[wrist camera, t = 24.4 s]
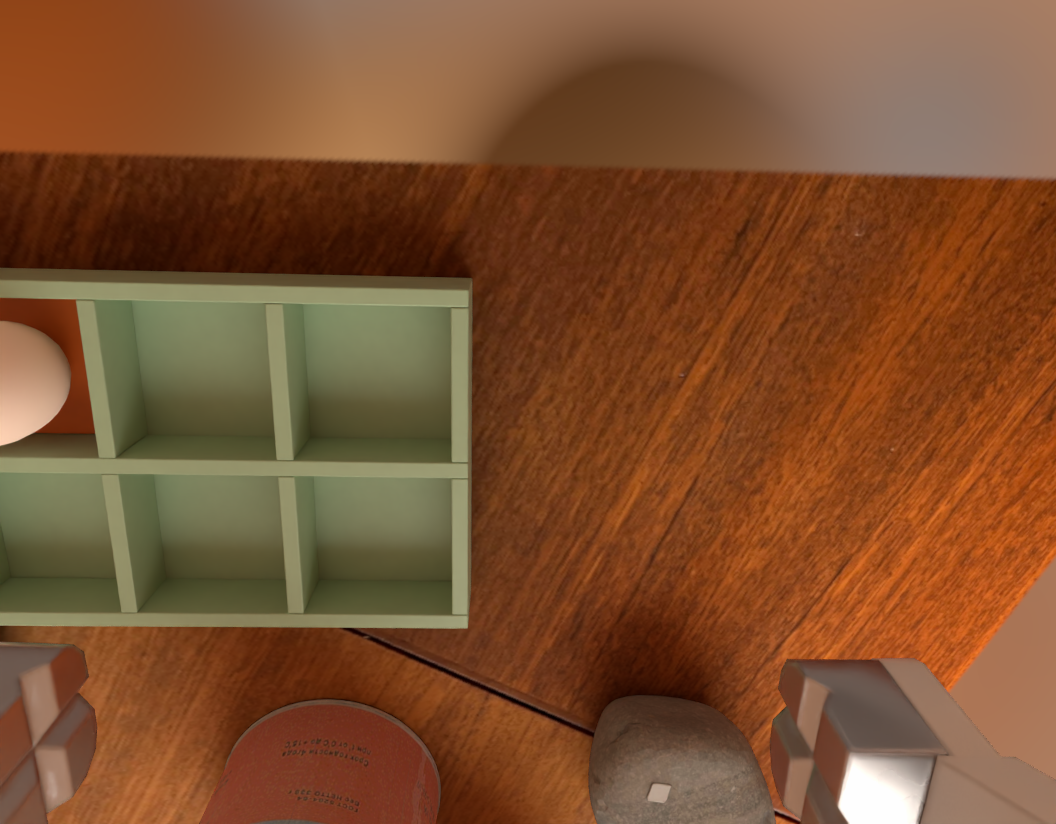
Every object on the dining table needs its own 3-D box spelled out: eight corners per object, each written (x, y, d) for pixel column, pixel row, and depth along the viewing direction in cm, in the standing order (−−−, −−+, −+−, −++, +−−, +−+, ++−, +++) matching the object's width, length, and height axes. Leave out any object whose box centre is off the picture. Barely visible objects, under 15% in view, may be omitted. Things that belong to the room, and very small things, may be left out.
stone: (575, 850, 42) (598, 940, 32) (572, 678, 44) (593, 714, 34) (738, 847, 42) (811, 935, 32) (730, 676, 44) (796, 712, 34)
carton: (-57, 266, 32) (-123, 276, 29) (472, 277, 33) (468, 289, 29) (5, 584, 36) (-45, 626, 33) (471, 588, 37) (467, 629, 34)
